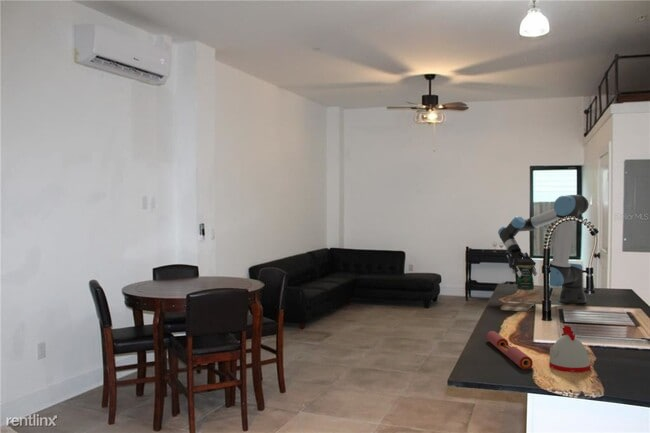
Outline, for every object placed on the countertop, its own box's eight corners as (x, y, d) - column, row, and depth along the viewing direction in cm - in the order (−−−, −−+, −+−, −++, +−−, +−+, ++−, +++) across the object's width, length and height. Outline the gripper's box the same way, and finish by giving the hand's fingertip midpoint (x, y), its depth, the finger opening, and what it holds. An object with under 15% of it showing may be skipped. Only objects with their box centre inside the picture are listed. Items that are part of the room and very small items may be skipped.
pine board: (533, 305, 329) (533, 302, 329) (526, 311, 312) (526, 308, 312) (509, 303, 337) (509, 301, 337) (500, 309, 320) (500, 306, 320)
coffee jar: (516, 290, 341) (515, 259, 341) (518, 288, 348) (517, 258, 348) (533, 290, 337) (532, 259, 336) (534, 288, 344) (533, 258, 344)
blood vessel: (486, 342, 248) (486, 331, 248) (497, 341, 248) (497, 330, 248) (519, 370, 207) (519, 356, 206) (533, 369, 207) (532, 356, 206)
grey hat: (578, 360, 215) (578, 321, 215) (597, 371, 201) (596, 329, 201) (543, 362, 215) (542, 323, 214) (559, 373, 201) (558, 331, 201)
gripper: (526, 250, 360) (542, 278, 344) (494, 252, 354) (509, 280, 339) (530, 242, 354) (547, 270, 339) (498, 244, 349) (514, 272, 334)
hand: (528, 275), depth 339 cm, fingers closed on coffee jar, 10 cm apart
